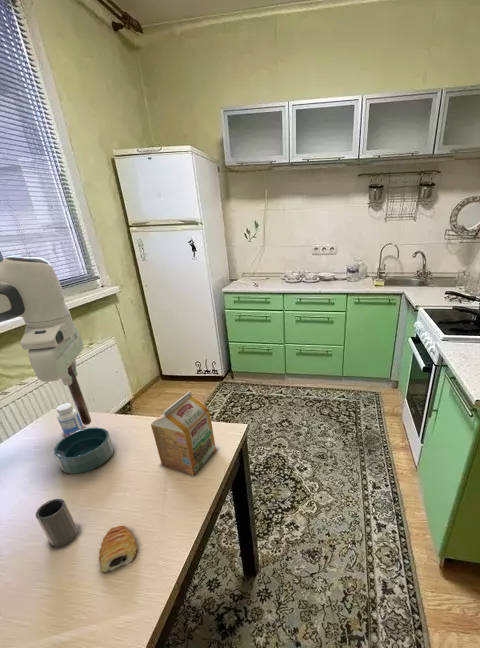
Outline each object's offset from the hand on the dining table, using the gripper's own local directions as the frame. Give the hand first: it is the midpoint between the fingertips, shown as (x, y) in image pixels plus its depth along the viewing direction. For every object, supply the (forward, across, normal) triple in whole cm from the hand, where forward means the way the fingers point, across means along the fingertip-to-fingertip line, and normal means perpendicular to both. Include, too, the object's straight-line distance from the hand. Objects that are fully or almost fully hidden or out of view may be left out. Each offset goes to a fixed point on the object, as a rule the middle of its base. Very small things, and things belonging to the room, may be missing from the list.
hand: (71, 380), depth 81 cm
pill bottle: (+25, -15, -11) cm, 31 cm away
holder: (+25, +26, -1) cm, 36 cm away
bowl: (+25, 0, -3) cm, 25 cm away
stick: (+14, 0, 0) cm, 14 cm away
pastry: (+25, +33, +11) cm, 43 cm away
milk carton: (+25, +8, +25) cm, 36 cm away
